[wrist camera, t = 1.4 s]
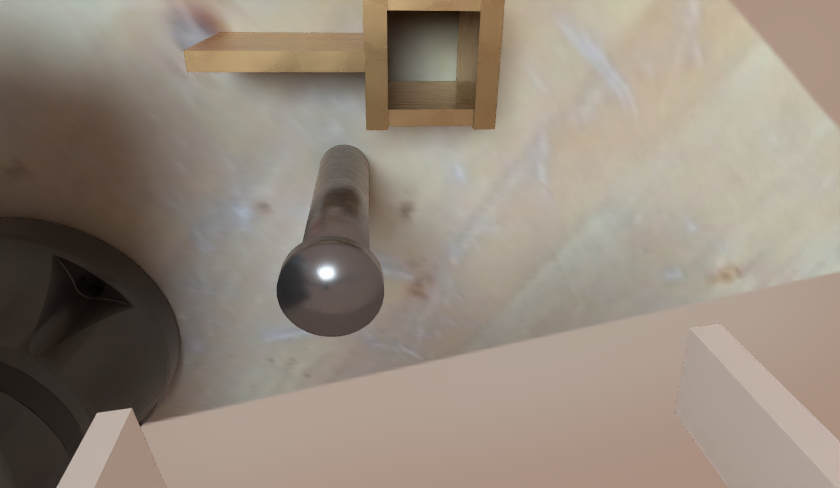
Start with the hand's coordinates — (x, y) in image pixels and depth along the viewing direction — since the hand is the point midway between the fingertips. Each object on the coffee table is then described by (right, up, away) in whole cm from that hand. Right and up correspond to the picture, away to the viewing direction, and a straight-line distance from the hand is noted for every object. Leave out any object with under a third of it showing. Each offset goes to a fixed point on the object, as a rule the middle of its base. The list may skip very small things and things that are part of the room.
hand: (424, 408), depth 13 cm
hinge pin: (-4, +8, +17) cm, 19 cm away
